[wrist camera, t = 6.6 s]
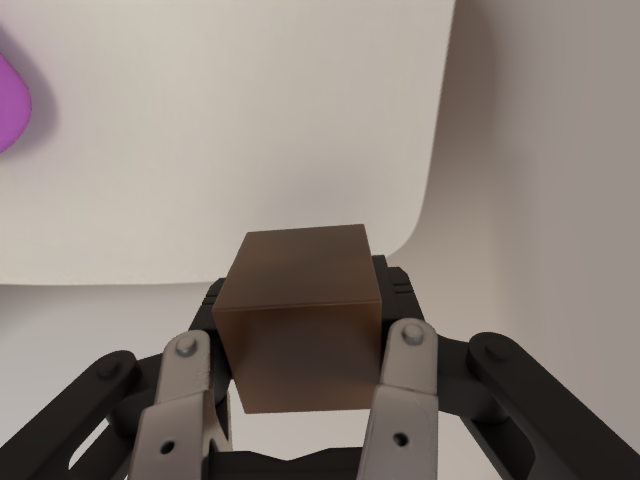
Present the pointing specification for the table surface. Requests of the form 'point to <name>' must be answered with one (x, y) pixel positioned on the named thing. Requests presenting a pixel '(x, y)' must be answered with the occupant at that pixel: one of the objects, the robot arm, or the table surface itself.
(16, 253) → the table surface
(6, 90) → the blob
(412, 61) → the table surface
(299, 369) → the block
